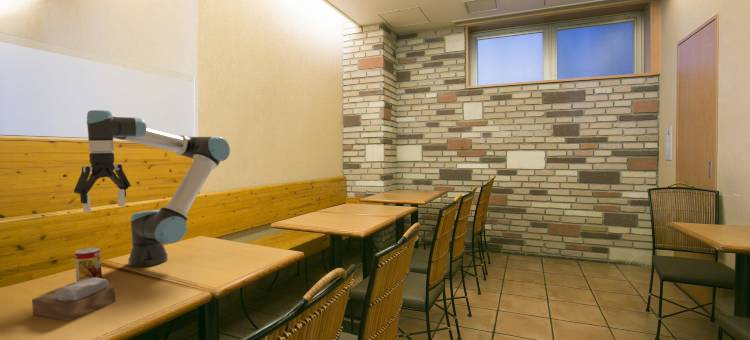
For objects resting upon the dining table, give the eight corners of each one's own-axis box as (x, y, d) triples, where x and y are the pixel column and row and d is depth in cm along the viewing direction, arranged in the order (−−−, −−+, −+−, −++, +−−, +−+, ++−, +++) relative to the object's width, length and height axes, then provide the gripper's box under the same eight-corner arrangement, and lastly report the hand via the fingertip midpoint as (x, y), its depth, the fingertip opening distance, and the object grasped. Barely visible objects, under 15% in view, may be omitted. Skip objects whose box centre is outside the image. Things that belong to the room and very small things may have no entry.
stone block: (50, 305, 117) (76, 301, 115) (48, 290, 117) (73, 285, 115) (87, 292, 129) (111, 288, 126) (85, 278, 129) (108, 274, 126)
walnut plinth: (82, 296, 132) (81, 282, 132) (115, 301, 128) (114, 286, 128) (33, 315, 118) (32, 299, 118) (68, 321, 114) (67, 304, 113)
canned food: (104, 280, 148) (102, 250, 147) (78, 285, 142) (76, 254, 142) (99, 275, 154) (97, 246, 153) (75, 280, 148) (73, 250, 147)
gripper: (124, 151, 155) (127, 203, 156) (58, 153, 131) (62, 214, 132) (138, 151, 153) (141, 203, 154) (74, 153, 129) (78, 215, 130)
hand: (105, 208), depth 143 cm, fingers open, 13 cm apart
